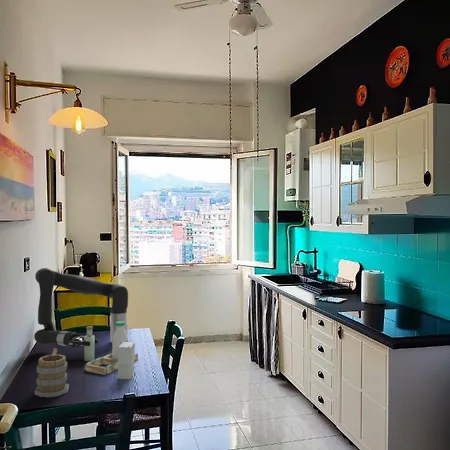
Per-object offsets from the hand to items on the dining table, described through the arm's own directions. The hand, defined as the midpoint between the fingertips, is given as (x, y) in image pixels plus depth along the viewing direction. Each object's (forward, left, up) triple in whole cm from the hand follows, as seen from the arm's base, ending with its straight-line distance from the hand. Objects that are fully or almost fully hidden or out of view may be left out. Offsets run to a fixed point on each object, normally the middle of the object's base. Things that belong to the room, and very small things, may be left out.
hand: (93, 342), depth 228 cm
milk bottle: (-4, +13, -9) cm, 17 cm away
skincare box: (+12, +29, -9) cm, 33 cm away
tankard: (+37, +10, -9) cm, 40 cm away
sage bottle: (0, -3, -9) cm, 9 cm away
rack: (+2, +13, -9) cm, 16 cm away
